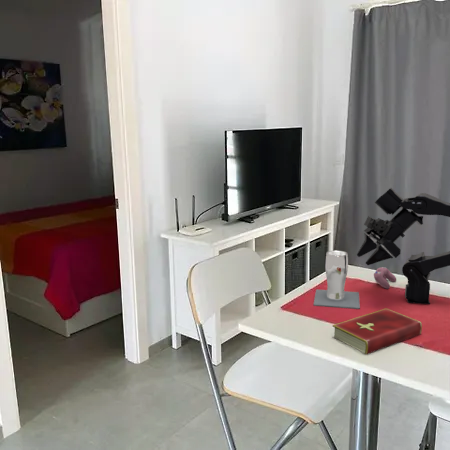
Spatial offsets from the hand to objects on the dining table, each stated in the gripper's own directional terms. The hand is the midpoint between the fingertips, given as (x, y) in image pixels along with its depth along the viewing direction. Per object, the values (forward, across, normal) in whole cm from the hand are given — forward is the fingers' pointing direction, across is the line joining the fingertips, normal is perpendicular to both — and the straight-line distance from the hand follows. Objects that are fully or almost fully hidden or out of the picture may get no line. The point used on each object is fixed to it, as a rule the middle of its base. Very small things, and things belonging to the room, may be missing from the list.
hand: (361, 260), depth 154 cm
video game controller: (+1, -13, +18) cm, 23 cm away
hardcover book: (+12, +27, +7) cm, 31 cm away
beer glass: (+15, 0, +4) cm, 15 cm away
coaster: (+15, 0, +4) cm, 15 cm away
